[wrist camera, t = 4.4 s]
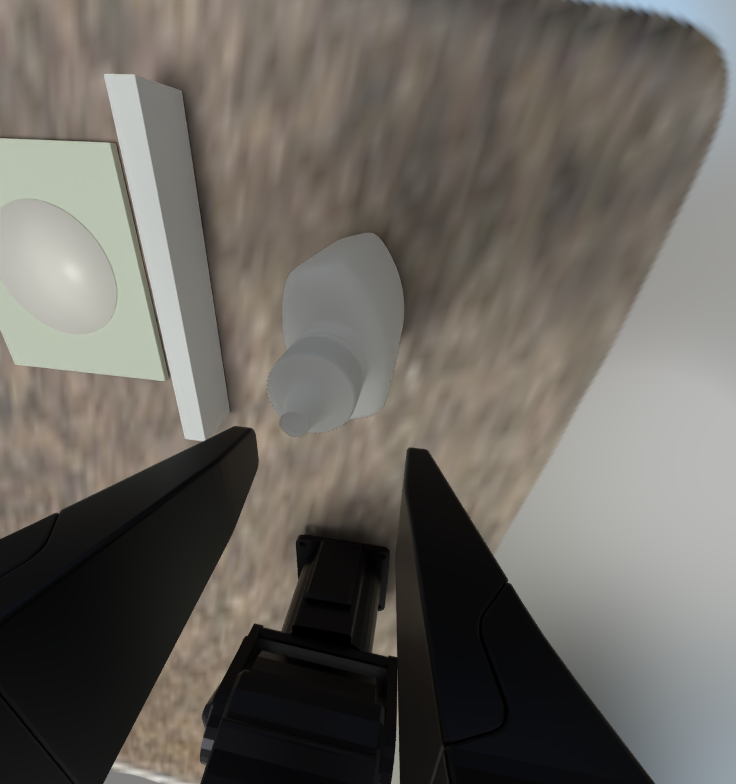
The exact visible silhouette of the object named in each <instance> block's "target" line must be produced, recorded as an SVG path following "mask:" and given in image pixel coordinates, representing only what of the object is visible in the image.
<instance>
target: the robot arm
mask: <svg viewBox="0 0 736 784" xmlns="http://www.w3.org/2000/svg"><path fill="white" fill-rule="evenodd" d="M258 463H259V458H258V449H257V441H256V434H255V431H254V430H253V429H252V428H247V427H239V426H234V427H232V428H229V429H227V430H225V431H223V432H221V433H219V434H217V435H215V436H213V437H211V438H209V439H207V440H205V441H203V442H201V443H199V444H197V445H194V446H192V447H190V448H188V449H186V450H184V451H182V452H180V453H178V454H176V455H174V456H172V457H170V458H168V459H166V460H164V461H161V462H159V463H157V464H155V465H153V466H151V467H149V468H147V469H145V470H143V471H141V472H139V473H137V474H135V475H133V476H131V477H128V478H126V479H124V480H122V481H120V482H118V483H116V484H114V485H112V486H110V487H108V488H106V489H104V490H102V491H100V492H98V493H95V494H93V495H91V496H89V497H87V498H85V499H83V500H81V501H79V502H77V503H75V504H73V505H71V506H69V507H67V508H65V509H62V510H61V511H60V513H54V514H52V515H50V516H48V517H46V518H44V519H42V520H40V521H38V522H36V523H34V524H32V525H29V526H27V527H25V528H23V529H21V530H19V531H17V532H14V533H12V534H10V535H8V536H6V537H4V538H2V539H0V784H103V783H104V781H105V779H106V777H107V775H108V773H109V771H110V769H111V767H112V765H113V764H114V762H115V760H116V758H117V756H118V754H119V752H120V750H121V748H122V746H123V744H124V742H125V740H126V738H127V737H128V735H129V733H130V731H131V729H132V727H133V725H134V723H135V721H136V719H137V717H138V715H139V713H140V711H141V710H142V708H143V706H144V704H145V702H146V700H147V698H148V696H149V694H150V692H151V690H152V688H153V686H154V684H155V682H156V681H157V679H158V677H159V675H160V673H161V671H162V669H163V667H164V665H165V663H166V661H167V659H168V657H169V655H170V654H171V652H172V650H173V648H174V646H175V644H176V642H177V640H178V638H179V636H180V634H181V632H182V630H183V628H184V627H185V625H186V623H187V621H188V619H189V617H190V615H191V613H192V611H193V609H194V607H195V605H196V603H197V601H198V600H199V598H200V596H201V594H202V592H203V590H204V588H205V586H206V584H207V582H208V580H209V578H210V576H211V574H212V573H213V571H214V569H215V567H216V565H217V563H218V561H219V559H220V557H221V555H222V553H223V551H224V549H225V547H226V546H227V544H228V542H229V539H230V537H231V535H232V533H233V531H234V529H235V526H236V524H237V521H238V519H239V516H240V513H241V511H242V508H243V506H244V503H245V500H246V498H247V495H248V493H249V490H250V487H251V485H252V482H253V480H254V477H255V474H256V472H257V469H258ZM296 552H297V567H298V583H297V586H296V589H295V592H294V595H293V598H292V601H291V604H290V607H289V610H288V613H287V616H286V619H285V622H284V625H283V628H282V631H277V630H273V629H268V628H264V627H263V625H259V624H254V625H253V627H252V629H251V631H250V633H249V635H248V636H245V638H244V639H243V641H242V644H241V646H240V648H239V650H238V652H237V653H236V655H235V657H234V659H233V661H232V663H231V665H230V667H229V669H228V671H227V673H226V675H225V676H224V678H223V680H222V682H221V684H220V685H219V686H218V688H217V689H216V691H215V692H214V694H213V695H212V697H211V698H210V700H209V701H208V703H207V704H206V706H205V708H204V711H203V714H202V720H203V723H204V727H205V731H204V737H203V742H202V746H201V752H200V762H201V764H205V765H206V768H205V771H204V774H203V777H202V780H201V783H200V784H391V779H392V772H393V764H394V754H395V741H396V721H397V669H398V710H399V756H400V784H655V783H654V781H653V780H652V779H651V778H650V776H649V775H648V774H647V772H646V771H645V770H644V768H643V767H642V766H641V764H640V763H639V762H638V760H637V759H636V758H635V756H634V755H633V754H632V753H631V751H630V750H629V749H628V747H627V746H626V745H625V743H624V742H623V741H622V739H621V738H620V737H619V735H618V734H617V733H616V731H615V730H614V729H613V727H612V726H611V725H610V724H609V722H608V721H607V720H606V718H605V717H604V716H603V714H602V713H601V712H600V710H599V709H598V708H597V706H596V705H595V704H594V703H593V701H592V700H591V699H590V697H589V696H588V695H587V694H586V692H585V691H584V690H583V688H582V687H581V685H580V684H579V683H578V682H577V680H576V679H575V677H574V676H573V675H572V673H571V672H570V671H569V669H568V668H567V667H566V665H565V664H564V662H563V661H562V660H561V658H560V657H559V656H558V655H557V653H556V651H555V650H554V649H553V648H552V646H551V645H550V643H549V642H548V640H547V639H546V638H545V636H544V635H543V634H542V632H541V630H540V629H539V627H538V626H537V624H536V623H535V621H534V620H533V618H532V617H531V615H530V614H529V612H528V610H527V609H526V607H525V606H524V604H523V603H522V601H521V599H520V598H519V596H518V595H517V593H516V591H515V590H514V588H513V586H512V585H511V584H510V583H508V579H507V577H506V575H505V574H504V572H503V571H502V569H501V567H500V566H499V564H498V563H497V561H496V559H495V558H494V556H493V554H492V553H491V551H490V550H489V548H488V546H487V545H486V543H485V542H484V540H483V538H482V537H481V535H480V533H479V532H478V530H477V529H476V527H475V525H474V524H473V522H472V521H471V519H470V517H469V516H468V514H467V512H466V511H465V509H464V508H463V506H462V504H461V503H460V501H459V500H458V498H457V496H456V495H455V493H454V491H453V490H452V488H451V487H450V485H449V483H448V482H447V480H446V479H445V477H444V475H443V474H442V472H441V471H440V469H439V467H438V466H437V464H436V462H435V461H434V459H433V458H432V456H431V454H430V453H429V451H428V450H426V449H419V448H408V449H407V453H406V462H405V471H404V480H403V489H402V499H401V508H400V518H399V527H398V537H397V547H396V613H397V657H394V656H388V657H386V656H382V655H377V654H373V653H372V649H373V642H374V634H375V627H376V619H377V611H381V610H383V609H384V608H385V598H386V589H387V579H388V569H389V559H390V550H389V549H388V548H386V547H382V546H376V545H369V544H362V543H356V542H349V541H343V540H336V539H329V538H323V537H316V536H309V535H299V536H298V538H297V541H296Z"/></svg>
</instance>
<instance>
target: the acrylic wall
mask: <svg viewBox="0 0 736 784" xmlns="http://www.w3.org/2000/svg"><path fill="white" fill-rule="evenodd" d="M104 77H105V82H106V86H107V91H108V95H109V100H110V104H111V109H112V113H113V117H114V122H115V126H116V131H117V135H118V140H119V144H120V149H121V153H122V158H123V162H124V167H125V171H126V176H127V180H128V185H129V189H130V194H131V198H132V203H133V207H134V212H135V216H136V221H137V225H138V230H139V234H140V239H141V243H142V248H143V252H144V257H145V261H146V266H147V270H148V274H149V279H150V283H151V288H152V292H153V297H154V301H155V306H156V310H157V315H158V319H159V324H160V328H161V333H162V337H163V342H164V346H165V351H166V355H167V360H168V364H169V369H170V373H171V378H172V382H173V387H174V391H175V396H176V400H177V405H178V409H179V414H180V418H181V423H182V427H183V432H184V436H185V439H191V440H199V441H205V440H207V439H208V438H209V437H210V436H211V435H212V433H213V432H214V431H215V430H216V429H217V428H218V426H219V425H220V424H221V423H222V422H223V421H224V420H225V418H226V417H227V416H228V415H229V414H230V409H229V402H228V396H227V389H226V382H225V376H224V369H223V362H222V356H221V349H220V342H219V336H218V329H217V322H216V316H215V309H214V302H213V296H212V289H211V282H210V276H209V269H208V262H207V256H206V249H205V242H204V236H203V229H202V222H201V216H200V209H199V202H198V196H197V189H196V182H195V176H194V169H193V162H192V156H191V149H190V142H189V136H188V129H187V122H186V116H185V109H184V102H183V96H182V91H181V90H178V89H175V88H172V87H170V86H167V85H164V84H161V83H158V82H155V81H152V80H149V79H146V78H143V77H140V76H138V75H133V74H104Z"/></svg>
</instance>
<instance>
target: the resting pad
mask: <svg viewBox="0 0 736 784" xmlns="http://www.w3.org/2000/svg"><path fill="white" fill-rule="evenodd" d="M0 330H1V333H2V335H3V337H4V340H5V342H6V344H7V347H8V349H9V351H10V354H11V356H12V358H13V361H14V363H15V364H16V365H25V366H34V367H42V368H51V369H60V370H69V371H78V372H87V373H96V374H105V375H114V376H123V377H132V378H141V379H150V380H159V381H166V380H167V379H169V376H168V371H167V367H166V362H165V358H164V353H163V349H162V345H161V340H160V336H159V331H158V327H157V323H156V318H155V314H154V309H153V305H152V300H151V296H150V292H149V287H148V283H147V278H146V274H145V270H144V265H143V261H142V256H141V252H140V247H139V243H138V239H137V234H136V230H135V225H134V221H133V216H132V212H131V208H130V203H129V199H128V194H127V190H126V186H125V181H124V177H123V172H122V168H121V163H120V159H119V155H118V150H117V146H116V143H104V142H80V141H56V140H32V139H8V138H0Z"/></svg>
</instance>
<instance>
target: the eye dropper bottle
mask: <svg viewBox="0 0 736 784" xmlns="http://www.w3.org/2000/svg"><path fill="white" fill-rule="evenodd" d="M403 322H404V296H403V289H402V284H401V280H400V276H399V273H398V270H397V268H396V265H395V263H394V261H393V259H392V256H391V255H390V253H389V251H388V249H387V248H386V246H385V244H384V243H383V242H382V240H381V239H380V238H379V237H378V236H377V235H375V234H374V233H362V234H358V235H353V236H349V237H345V238H342V239H339V240H337V241H335V242H334V243H332V244H331V245H329V246H328V247H326V248H324V249H323V250H321V251H320V252H318V253H317V254H315V255H314V256H312V257H311V258H309V259H308V260H306V261H305V262H303V263H302V264H300V265H299V266H298V267H296V268H295V269H294V270H292V271H291V273H290V274H289V276H288V278H287V280H286V284H285V289H284V295H283V308H282V324H283V335H284V341H285V346H286V352H285V353H284V354H283V355H282V357H281V358H280V359H279V360H278V361H277V362H276V364H275V365H274V367H273V368H272V369H271V372H270V375H269V376H268V378H269V379H268V380H267V381H268V384H267V386H268V388H267V390H268V395H269V399H270V400H271V401H270V402H271V403H272V406H273V407H274V409H275V411H276V412H277V413H278V414H279V416H280V417H281V418H280V426H281V428H282V430H283V431H284V432H285V433H286V434H288V435H290V436H293V437H301V436H303V435H305V434H306V433H307V432H315V433H317V432H318V433H321V432H329V431H332V430H334V429H337V428H338V427H341V425H344V423H345V422H347V421H348V420H349V419H357V418H364V417H368V416H372V415H374V414H376V413H378V412H379V411H380V410H381V409H382V408H383V406H384V404H385V402H386V399H387V396H388V393H389V389H390V385H391V381H392V376H393V372H394V367H395V363H396V358H397V353H398V348H399V343H400V339H401V334H402V329H403Z"/></svg>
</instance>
